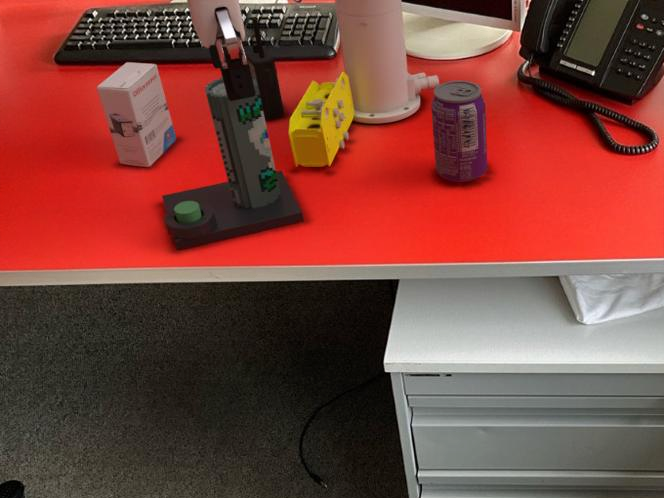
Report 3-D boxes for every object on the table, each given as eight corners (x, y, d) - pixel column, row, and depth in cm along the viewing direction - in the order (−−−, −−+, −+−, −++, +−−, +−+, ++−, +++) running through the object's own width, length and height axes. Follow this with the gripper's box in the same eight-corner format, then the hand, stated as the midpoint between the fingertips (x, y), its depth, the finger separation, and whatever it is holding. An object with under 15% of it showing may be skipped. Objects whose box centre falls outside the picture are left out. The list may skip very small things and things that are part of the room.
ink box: (148, 137, 133) (125, 60, 126) (179, 140, 133) (158, 62, 125) (119, 165, 127) (92, 86, 119) (151, 168, 126) (127, 88, 119)
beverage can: (494, 164, 125) (492, 82, 117) (477, 189, 120) (473, 105, 112) (447, 157, 127) (442, 76, 119) (428, 181, 122) (421, 98, 114)
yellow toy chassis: (334, 171, 124) (323, 115, 119) (294, 171, 125) (281, 115, 119) (358, 119, 136) (349, 66, 131) (322, 120, 137) (312, 66, 131)
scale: (283, 179, 123) (279, 159, 121) (305, 223, 115) (301, 202, 113) (161, 205, 119) (155, 185, 117) (174, 253, 110) (167, 232, 108)
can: (283, 202, 116) (260, 91, 106) (236, 211, 114) (208, 100, 104) (275, 180, 120) (252, 72, 110) (229, 189, 119) (202, 80, 109)
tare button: (199, 209, 113) (196, 198, 112) (203, 221, 111) (200, 210, 110) (175, 214, 112) (172, 204, 111) (179, 226, 110) (175, 215, 109)
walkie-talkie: (256, 110, 140) (236, 12, 130) (277, 105, 141) (258, 8, 131) (267, 122, 136) (246, 23, 126) (288, 116, 138) (269, 18, 128)
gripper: (151, -88, 101) (191, 60, 112) (172, -41, 89) (215, 118, 101) (217, -97, 103) (250, 48, 114) (247, -53, 91) (281, 104, 103)
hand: (234, 81), depth 107 cm, fingers open, 9 cm apart
